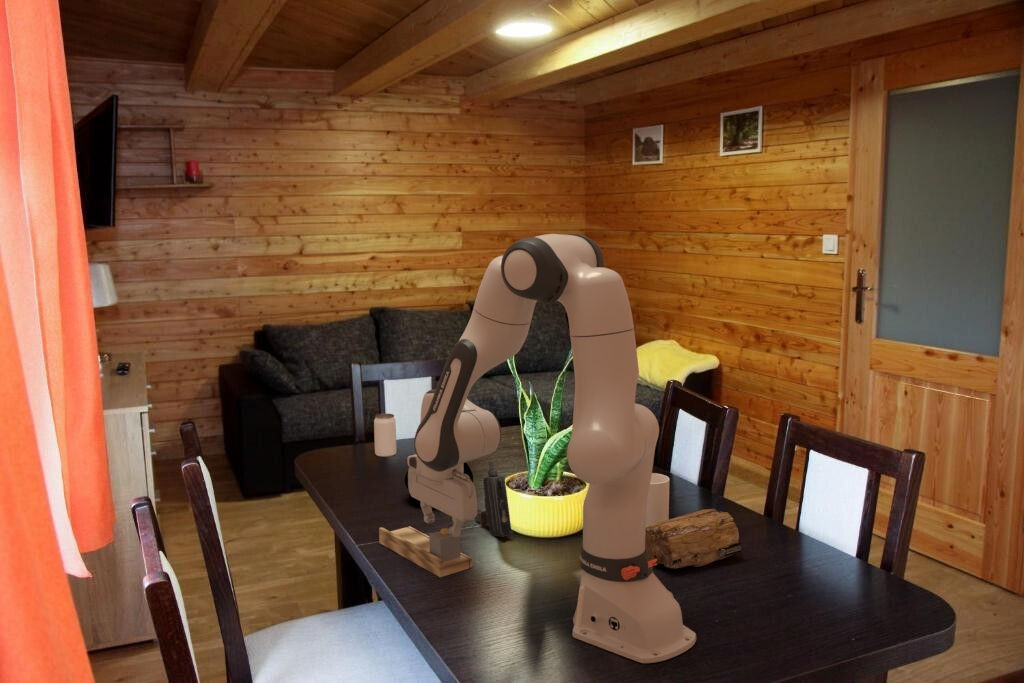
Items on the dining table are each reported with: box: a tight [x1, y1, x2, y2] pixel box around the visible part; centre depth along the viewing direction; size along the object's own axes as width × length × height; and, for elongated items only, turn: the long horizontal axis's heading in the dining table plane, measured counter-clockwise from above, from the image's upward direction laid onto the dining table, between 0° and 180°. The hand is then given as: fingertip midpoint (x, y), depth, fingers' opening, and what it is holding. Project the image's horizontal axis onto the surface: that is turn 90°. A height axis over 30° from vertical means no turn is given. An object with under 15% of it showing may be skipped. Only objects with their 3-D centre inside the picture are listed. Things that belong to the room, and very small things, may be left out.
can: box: [373, 413, 397, 458], centre depth 268 cm, size 6×6×12 cm
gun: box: [474, 459, 514, 538], centre depth 205 cm, size 3×17×15 cm
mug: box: [646, 472, 670, 527], centre depth 205 cm, size 12×8×12 cm
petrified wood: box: [645, 508, 743, 569], centre depth 188 cm, size 19×13×10 cm
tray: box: [378, 525, 473, 578], centre depth 191 cm, size 24×8×4 cm, turn 39°
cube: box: [428, 527, 461, 562], centre depth 184 cm, size 4×5×6 cm
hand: (442, 528), depth 184 cm, fingers open, 8 cm apart
